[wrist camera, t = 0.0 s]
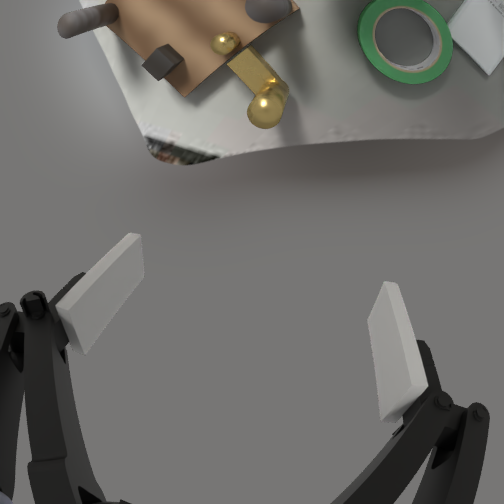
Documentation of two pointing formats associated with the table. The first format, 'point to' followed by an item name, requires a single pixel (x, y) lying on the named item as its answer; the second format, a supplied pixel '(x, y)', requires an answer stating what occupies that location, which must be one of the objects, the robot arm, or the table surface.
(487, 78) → the table surface
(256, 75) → the leg
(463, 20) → the external hard drive
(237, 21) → the wooden peg board
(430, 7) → the tape roll
